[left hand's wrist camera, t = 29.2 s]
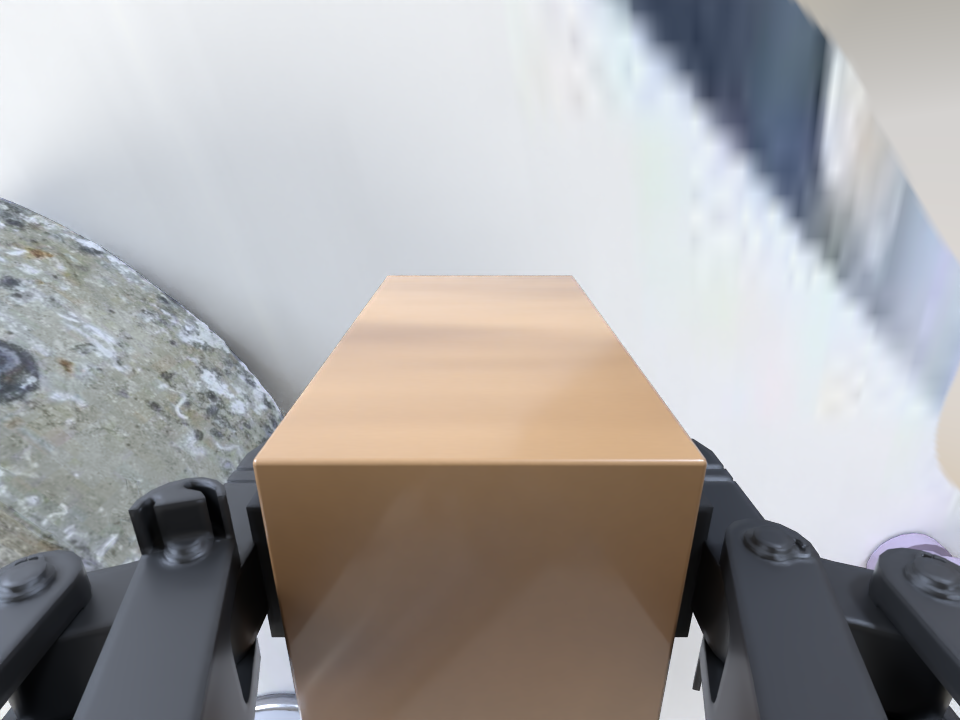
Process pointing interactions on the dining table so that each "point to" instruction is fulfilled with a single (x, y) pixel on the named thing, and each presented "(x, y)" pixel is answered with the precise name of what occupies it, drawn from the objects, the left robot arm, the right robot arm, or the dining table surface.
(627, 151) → the dining table surface
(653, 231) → the dining table surface
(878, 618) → the left robot arm
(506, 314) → the block
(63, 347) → the concrete block
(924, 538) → the cat figurine
